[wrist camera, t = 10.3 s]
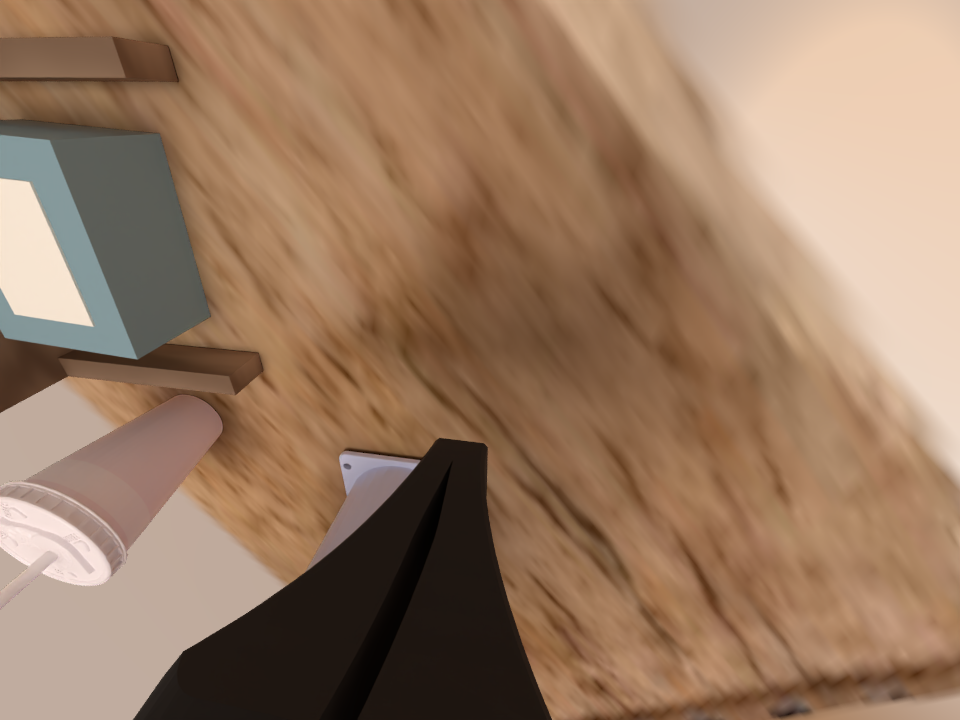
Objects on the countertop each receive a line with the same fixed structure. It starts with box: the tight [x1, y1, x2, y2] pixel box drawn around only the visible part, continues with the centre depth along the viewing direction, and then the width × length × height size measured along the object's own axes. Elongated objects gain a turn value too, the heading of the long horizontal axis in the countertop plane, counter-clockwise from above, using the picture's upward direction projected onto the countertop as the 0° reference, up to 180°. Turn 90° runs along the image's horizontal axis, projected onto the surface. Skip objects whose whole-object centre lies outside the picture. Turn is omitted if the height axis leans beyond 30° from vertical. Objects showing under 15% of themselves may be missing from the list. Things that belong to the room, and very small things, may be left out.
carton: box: [0, 120, 211, 360], centre depth 20 cm, size 9×7×5 cm
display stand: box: [0, 37, 263, 413], centre depth 19 cm, size 15×12×6 cm
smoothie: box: [0, 394, 223, 609], centre depth 22 cm, size 6×6×14 cm
